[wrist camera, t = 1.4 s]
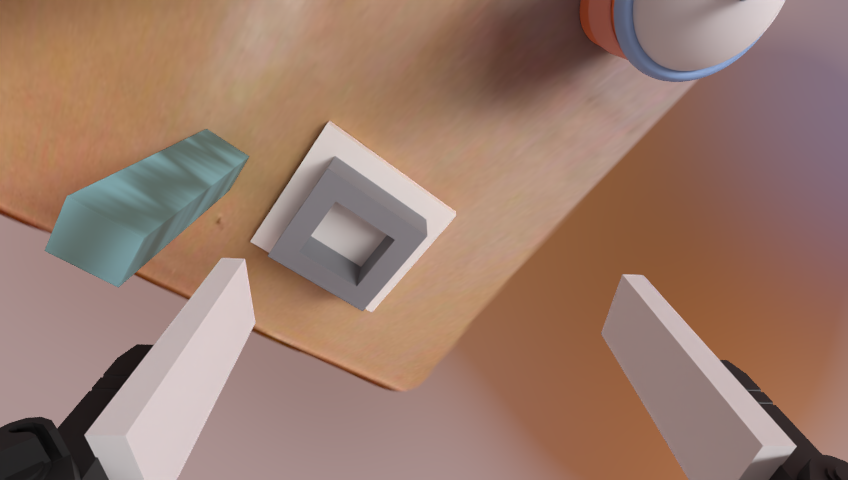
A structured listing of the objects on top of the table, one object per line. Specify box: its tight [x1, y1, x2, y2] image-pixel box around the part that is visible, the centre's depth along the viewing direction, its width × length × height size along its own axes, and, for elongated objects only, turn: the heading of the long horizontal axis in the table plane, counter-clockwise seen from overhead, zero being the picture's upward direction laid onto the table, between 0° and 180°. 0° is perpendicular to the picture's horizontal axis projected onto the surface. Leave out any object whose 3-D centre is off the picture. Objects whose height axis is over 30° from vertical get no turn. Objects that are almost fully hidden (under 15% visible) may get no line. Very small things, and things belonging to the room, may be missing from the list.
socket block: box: [250, 121, 456, 312], centre depth 38 cm, size 14×14×4 cm
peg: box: [45, 129, 249, 287], centre depth 29 cm, size 4×4×16 cm
